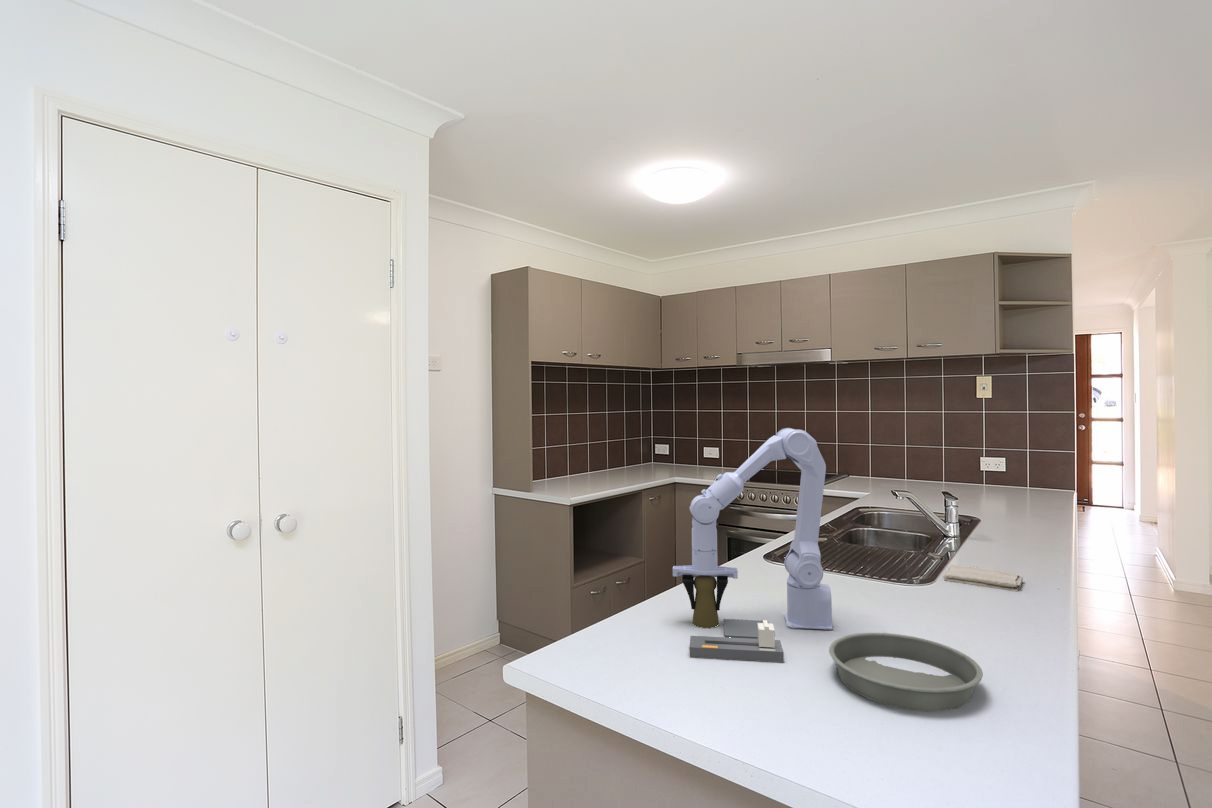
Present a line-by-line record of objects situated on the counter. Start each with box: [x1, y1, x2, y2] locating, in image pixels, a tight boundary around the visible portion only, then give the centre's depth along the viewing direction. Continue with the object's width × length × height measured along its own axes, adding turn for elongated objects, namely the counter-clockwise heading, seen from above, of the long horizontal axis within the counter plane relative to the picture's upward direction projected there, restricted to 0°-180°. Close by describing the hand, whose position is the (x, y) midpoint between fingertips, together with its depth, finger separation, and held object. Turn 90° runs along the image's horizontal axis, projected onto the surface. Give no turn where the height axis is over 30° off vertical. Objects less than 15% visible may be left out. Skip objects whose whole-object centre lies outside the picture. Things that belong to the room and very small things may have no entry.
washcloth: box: [943, 564, 1024, 593], centre depth 167 cm, size 12×18×3 cm, turn 53°
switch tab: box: [757, 619, 776, 648], centre depth 121 cm, size 3×4×4 cm
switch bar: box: [689, 635, 785, 663], centre depth 122 cm, size 18×6×2 cm, turn 80°
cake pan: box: [828, 632, 984, 712], centre depth 109 cm, size 25×25×4 cm
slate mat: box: [722, 618, 769, 639], centre depth 134 cm, size 10×10×1 cm
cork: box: [691, 575, 720, 629], centre depth 139 cm, size 6×6×11 cm
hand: (705, 608), depth 139 cm, fingers closed on cork, 5 cm apart
